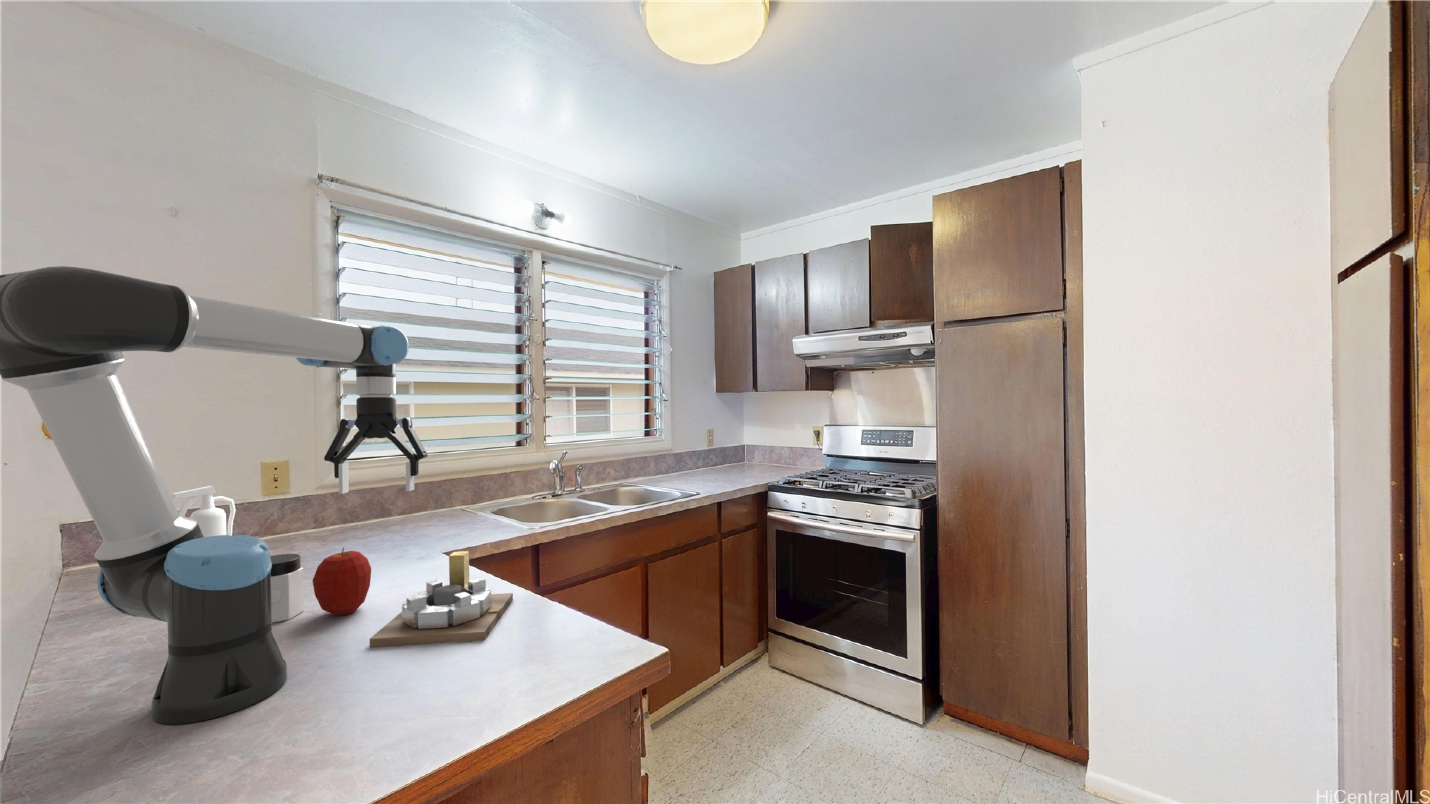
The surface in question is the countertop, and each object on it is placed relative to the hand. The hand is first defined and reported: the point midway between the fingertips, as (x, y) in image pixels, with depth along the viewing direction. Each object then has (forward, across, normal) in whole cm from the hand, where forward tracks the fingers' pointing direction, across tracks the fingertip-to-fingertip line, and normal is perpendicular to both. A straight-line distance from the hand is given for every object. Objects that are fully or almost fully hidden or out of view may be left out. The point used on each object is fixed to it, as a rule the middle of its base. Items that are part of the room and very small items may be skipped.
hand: (377, 491), depth 120 cm
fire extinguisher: (+25, +43, -16) cm, 52 cm away
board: (+24, -19, +15) cm, 34 cm away
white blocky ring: (+23, -19, +15) cm, 33 cm away
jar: (+25, +17, +5) cm, 31 cm away
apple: (+25, +4, +6) cm, 26 cm away
